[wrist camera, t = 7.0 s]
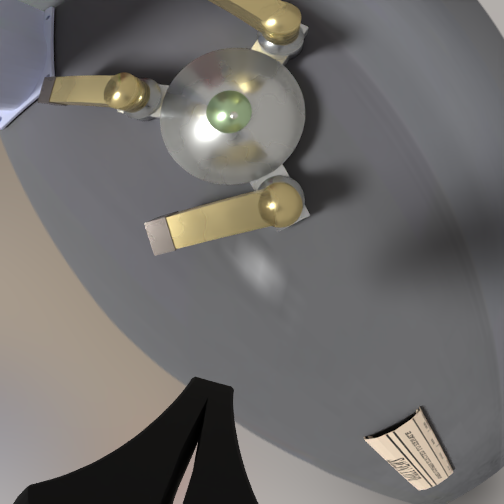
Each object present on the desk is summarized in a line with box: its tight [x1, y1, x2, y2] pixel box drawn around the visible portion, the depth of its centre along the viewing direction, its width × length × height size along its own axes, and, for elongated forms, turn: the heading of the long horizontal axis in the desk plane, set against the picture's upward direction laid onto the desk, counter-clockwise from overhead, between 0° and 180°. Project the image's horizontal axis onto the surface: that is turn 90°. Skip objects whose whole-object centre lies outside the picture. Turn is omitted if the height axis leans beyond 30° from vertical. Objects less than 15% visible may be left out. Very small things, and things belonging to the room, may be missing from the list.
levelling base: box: [117, 24, 310, 232], centre depth 14 cm, size 13×12×1 cm
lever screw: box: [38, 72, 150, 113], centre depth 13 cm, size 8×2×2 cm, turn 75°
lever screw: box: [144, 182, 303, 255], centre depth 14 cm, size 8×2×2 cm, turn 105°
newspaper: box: [364, 407, 453, 490], centre depth 23 cm, size 24×7×2 cm, turn 38°
